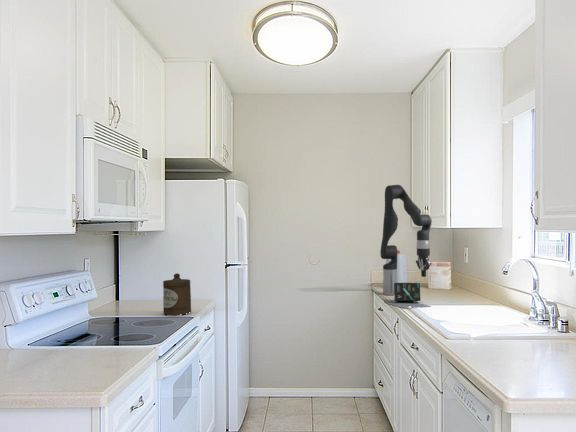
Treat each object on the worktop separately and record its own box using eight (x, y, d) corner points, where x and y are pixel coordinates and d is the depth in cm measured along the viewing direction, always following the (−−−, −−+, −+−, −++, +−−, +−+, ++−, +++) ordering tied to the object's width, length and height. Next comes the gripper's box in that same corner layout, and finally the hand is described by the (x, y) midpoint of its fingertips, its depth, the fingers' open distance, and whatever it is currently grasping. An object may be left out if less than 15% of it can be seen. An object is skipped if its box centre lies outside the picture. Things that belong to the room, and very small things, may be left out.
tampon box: (417, 283, 285) (393, 283, 287) (420, 282, 276) (394, 282, 278) (418, 301, 283) (394, 301, 285) (420, 301, 274) (395, 300, 276)
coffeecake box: (451, 288, 338) (451, 261, 338) (449, 289, 332) (448, 262, 332) (430, 287, 346) (430, 261, 346) (428, 288, 340) (427, 262, 340)
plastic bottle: (382, 288, 345) (382, 250, 345) (390, 286, 357) (390, 249, 358) (402, 289, 336) (401, 251, 337) (409, 287, 348) (409, 250, 349)
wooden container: (158, 313, 255) (158, 273, 255) (181, 310, 265) (181, 271, 266) (172, 317, 244) (172, 275, 245) (196, 313, 255) (196, 273, 255)
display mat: (383, 302, 281) (383, 302, 281) (408, 300, 286) (408, 300, 286) (404, 308, 260) (404, 308, 260) (430, 306, 265) (430, 306, 265)
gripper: (411, 247, 283) (411, 275, 282) (424, 248, 270) (425, 278, 270) (421, 247, 285) (422, 275, 285) (435, 248, 273) (435, 277, 272)
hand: (423, 276), depth 277 cm, fingers closed
